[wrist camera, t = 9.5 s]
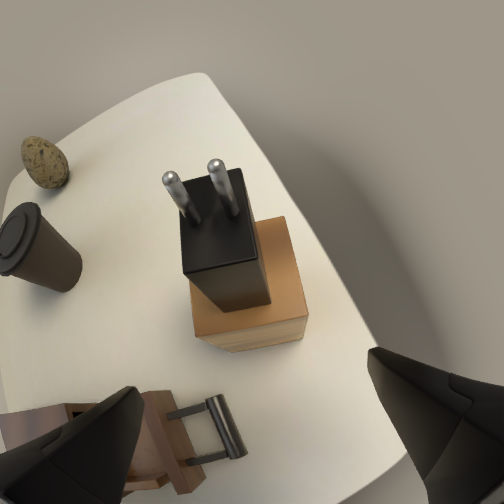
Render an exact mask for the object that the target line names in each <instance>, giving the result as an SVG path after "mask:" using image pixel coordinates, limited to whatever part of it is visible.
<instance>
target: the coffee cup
mask: <svg viewBox="0 0 504 504" xmlns="http://www.w3.org/2000/svg"><path fill="white" fill-rule="evenodd" d="M81 271H82V259H81V256H80V254H79V253H78V252H77V251H76V250H75V249H74V248H73V247H72V246H71V245H70V244H69V243H68V242H67V241H66V240H65V239H64V238H63V237H62V236H61V235H60V234H59V233H58V232H57V231H56V230H55V229H54V228H53V227H52V226H51V225H50V223H49V222H48V221H47V220H46V219H45V218H44V217H43V216H42V215H41V210H40V208H39V206H38V205H37V204H36V203H33V202H25V203H22V204H20V205H19V206H17V207H16V208H15V209H14V210H13V211H12V212H11V213H10V214H9V215H8V217H7V218H6V220H5V221H4V223H3V224H2V226H1V228H0V275H2V276H9V275H13V276H15V277H18V278H21V279H23V280H26V281H29V282H32V283H35V284H38V285H40V286H43V287H46V288H49V289H52V290H55V291H59V292H66V291H68V290H70V289H71V288H72V287H74V285H75V284H76V283H77V281H78V279H79V277H80V275H81Z"/></svg>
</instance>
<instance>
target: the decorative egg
mask: <svg viewBox="0 0 504 504" xmlns="http://www.w3.org/2000/svg"><path fill="white" fill-rule="evenodd" d="M21 156H22V160H23V163H24V166H25V168H26V170H27V172H28V174H29V175H30V177H31V178H32V180H33V181H34V182H35V183H36V184H37V185H39V186H40V187H42V188H44V189H55V188H58V187H60V186H61V185H62V184H63V183H64V182H65V180H66V178H67V176H68V170H69V167H68V162H67V159H66V157H65V155H64V154H63V153H62V151H61V150H60V149H59V148H58V147H56V146H55V145H54V144H52V143H50V142H49V141H47V140H45V139H43V138H40V137H34V136H31V137H28V138H26V139H25V140H24V141H23V143H22V146H21Z"/></svg>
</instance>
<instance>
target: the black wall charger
mask: <svg viewBox="0 0 504 504" xmlns="http://www.w3.org/2000/svg"><path fill="white" fill-rule="evenodd" d="M207 168H208V172H209V174H210V175H207V176H203V177H199V178H195V179H191V180H187V181H184V182H181V180H180V178H179V176H178V175H177V173H176V172H174V171H168V172H166V173H165V174H164V175H163V177H162V182H163V184H164V186H165V187H166V189H167V190H168V192H169V194H170V195H171V197H172V198H173V200H174V202H175V203H176V205H177V206H178V208H179V216H180V236H181V252H182V267H183V274H184V275H185V276H186V277H187V278H188V279H189V280H190V281H191V282H192V283H193V284H194V285H195V286H196V287H197V288H198V289H199V290H200V291H201V292H202V293H203V294H204V295H205V296H206V297H207V298H208V299H209V300H210V301H212V302H213V303H214V304H215V305H216V306H217V307H218V308H219V309H220V310H221V311H222V312H223V313H227V312H232V311H238V310H243V309H248V308H253V307H258V306H263V305H268V304H271V303H272V300H271V295H270V290H269V285H268V280H267V275H266V270H265V265H264V260H263V255H262V250H261V245H260V240H259V236H258V232H257V228H256V224H255V220H254V216H253V212H252V209H251V205H250V201H249V197H248V193H247V189H246V186H245V182H244V178H243V174H242V170H241V169H240V168H236V169H231V170H227V171H226V168H225V165H224V163H223V161H222V160H220V159H212V160H211V161H210V162H209V163H208V166H207Z"/></svg>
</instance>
